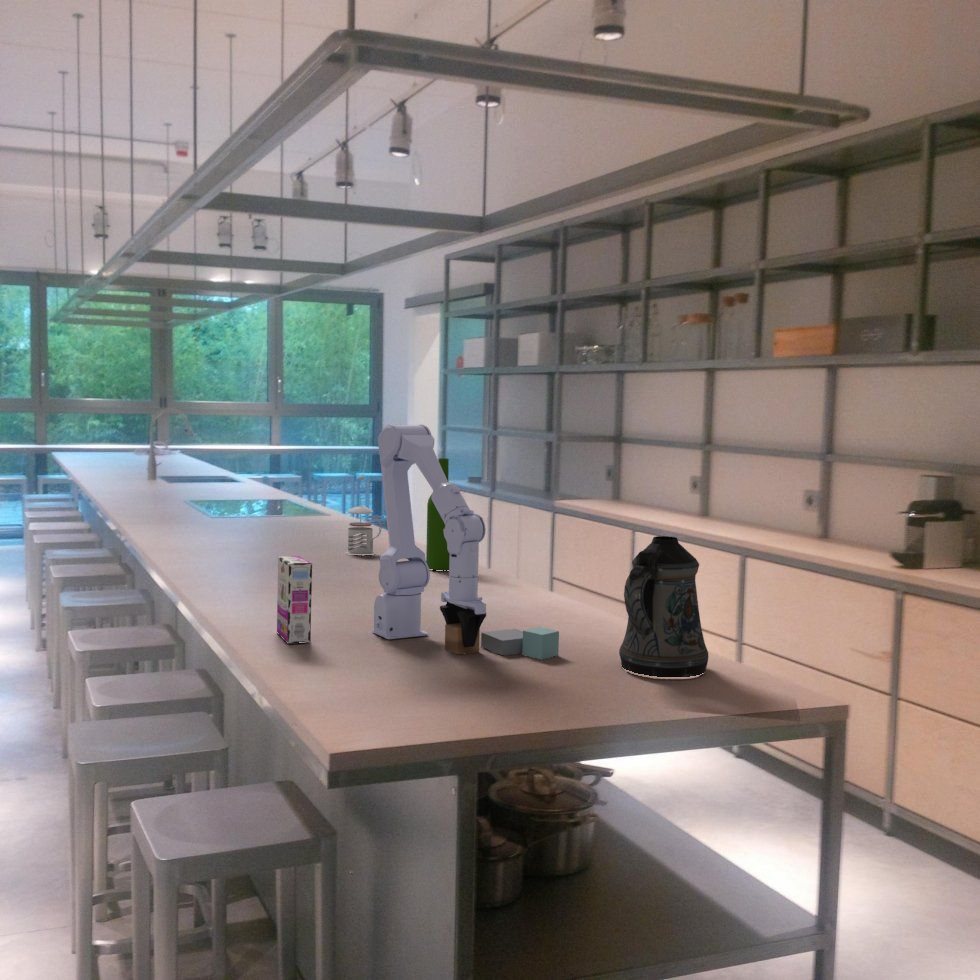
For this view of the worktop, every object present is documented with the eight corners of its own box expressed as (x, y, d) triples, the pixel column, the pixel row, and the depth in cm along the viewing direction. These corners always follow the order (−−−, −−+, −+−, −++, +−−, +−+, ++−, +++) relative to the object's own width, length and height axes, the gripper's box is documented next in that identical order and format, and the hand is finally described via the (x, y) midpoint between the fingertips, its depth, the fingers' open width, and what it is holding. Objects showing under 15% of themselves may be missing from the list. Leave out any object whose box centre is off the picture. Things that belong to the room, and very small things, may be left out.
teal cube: (541, 660, 200) (542, 634, 200) (522, 655, 204) (522, 630, 203) (558, 656, 204) (559, 631, 203) (539, 651, 207) (539, 627, 207)
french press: (349, 551, 337) (350, 474, 335) (384, 552, 336) (385, 475, 333) (340, 555, 327) (341, 476, 325) (376, 557, 326) (377, 477, 324)
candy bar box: (312, 643, 209) (313, 562, 208) (287, 645, 207) (288, 563, 206) (299, 631, 219) (300, 554, 218) (276, 633, 217) (276, 555, 216)
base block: (501, 655, 203) (502, 640, 202) (481, 646, 209) (481, 632, 209) (536, 651, 207) (536, 636, 207) (514, 643, 214) (514, 628, 213)
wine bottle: (462, 570, 304) (464, 459, 302) (436, 572, 299) (438, 459, 297) (446, 565, 312) (448, 457, 309) (420, 568, 307) (422, 457, 304)
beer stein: (708, 662, 201) (714, 534, 199) (706, 688, 183) (712, 547, 180) (623, 655, 205) (627, 530, 203) (612, 680, 186) (617, 542, 184)
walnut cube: (457, 654, 203) (457, 629, 202) (444, 649, 207) (445, 624, 206) (479, 652, 205) (479, 627, 205) (466, 646, 209) (467, 622, 209)
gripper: (500, 580, 201) (498, 649, 202) (463, 569, 213) (461, 634, 214) (468, 582, 197) (466, 653, 198) (432, 571, 209) (431, 637, 211)
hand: (462, 643), depth 206 cm, fingers closed on walnut cube, 5 cm apart
